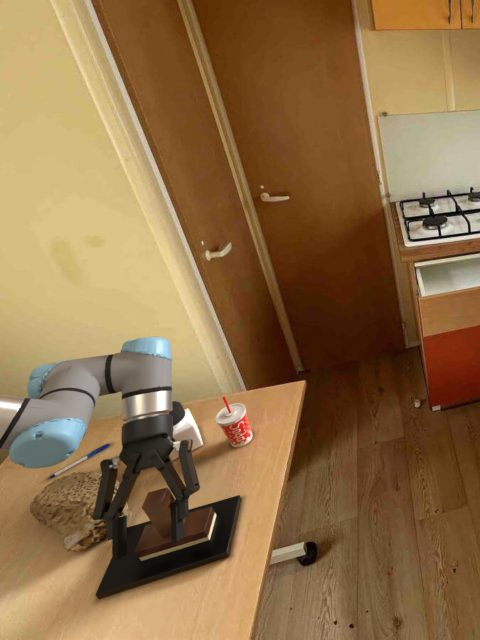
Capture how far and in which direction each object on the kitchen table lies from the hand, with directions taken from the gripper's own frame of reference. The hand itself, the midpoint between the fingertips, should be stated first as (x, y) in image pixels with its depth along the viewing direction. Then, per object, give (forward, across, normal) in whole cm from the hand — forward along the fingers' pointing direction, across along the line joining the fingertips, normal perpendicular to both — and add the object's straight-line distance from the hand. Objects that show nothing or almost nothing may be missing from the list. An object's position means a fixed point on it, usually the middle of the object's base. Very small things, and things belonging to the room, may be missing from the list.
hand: (149, 548), depth 75 cm
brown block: (0, -2, -5) cm, 6 cm away
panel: (+2, -2, -6) cm, 7 cm away
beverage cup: (-15, -8, -23) cm, 28 cm away
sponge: (-7, +18, -15) cm, 25 cm away
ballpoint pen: (-19, +25, -27) cm, 41 cm away
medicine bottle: (-17, +4, -25) cm, 30 cm away
